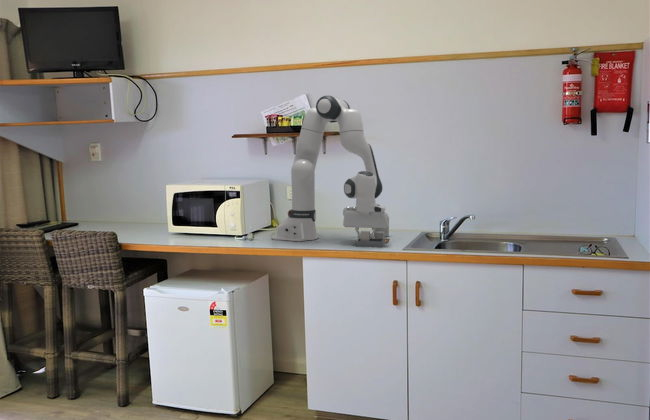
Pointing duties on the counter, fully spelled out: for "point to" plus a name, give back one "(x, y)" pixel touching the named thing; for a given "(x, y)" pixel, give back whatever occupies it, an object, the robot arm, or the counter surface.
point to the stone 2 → (379, 234)
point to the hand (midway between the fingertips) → (365, 237)
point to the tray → (386, 240)
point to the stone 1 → (364, 236)
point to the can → (384, 229)
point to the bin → (371, 243)
